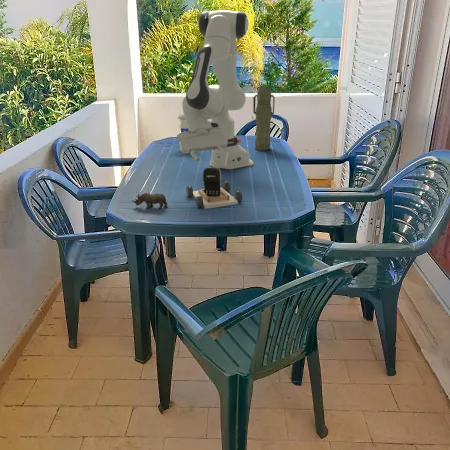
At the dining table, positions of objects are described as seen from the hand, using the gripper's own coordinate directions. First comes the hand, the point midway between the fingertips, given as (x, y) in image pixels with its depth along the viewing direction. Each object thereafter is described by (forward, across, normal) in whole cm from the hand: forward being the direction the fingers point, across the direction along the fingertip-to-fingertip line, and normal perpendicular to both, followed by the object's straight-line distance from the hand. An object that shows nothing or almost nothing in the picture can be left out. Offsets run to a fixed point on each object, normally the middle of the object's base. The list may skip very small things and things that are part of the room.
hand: (208, 158), depth 180 cm
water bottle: (-42, +13, +65) cm, 79 cm away
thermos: (-30, +54, +55) cm, 83 cm away
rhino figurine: (+15, -27, +6) cm, 32 cm away
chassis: (+16, -1, +6) cm, 17 cm away
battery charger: (+14, -2, +5) cm, 15 cm away
